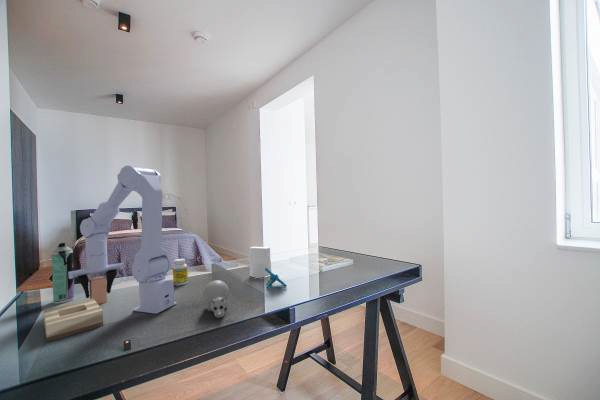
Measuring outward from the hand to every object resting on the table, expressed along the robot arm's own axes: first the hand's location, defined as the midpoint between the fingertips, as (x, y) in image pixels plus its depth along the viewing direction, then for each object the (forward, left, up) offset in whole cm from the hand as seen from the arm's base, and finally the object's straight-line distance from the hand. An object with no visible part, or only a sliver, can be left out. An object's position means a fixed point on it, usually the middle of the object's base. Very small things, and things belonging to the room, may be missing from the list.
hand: (98, 294), depth 89 cm
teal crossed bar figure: (-53, -27, -3) cm, 59 cm away
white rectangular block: (-40, -40, -3) cm, 57 cm away
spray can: (+14, +2, -3) cm, 14 cm away
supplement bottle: (-13, -23, -3) cm, 27 cm away
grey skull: (-45, -3, -3) cm, 45 cm away
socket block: (-11, +14, -2) cm, 18 cm away
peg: (0, 0, -2) cm, 2 cm away
